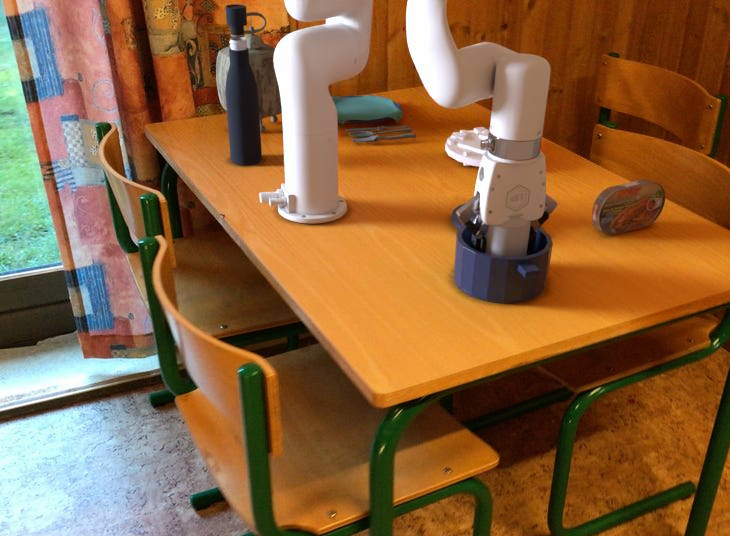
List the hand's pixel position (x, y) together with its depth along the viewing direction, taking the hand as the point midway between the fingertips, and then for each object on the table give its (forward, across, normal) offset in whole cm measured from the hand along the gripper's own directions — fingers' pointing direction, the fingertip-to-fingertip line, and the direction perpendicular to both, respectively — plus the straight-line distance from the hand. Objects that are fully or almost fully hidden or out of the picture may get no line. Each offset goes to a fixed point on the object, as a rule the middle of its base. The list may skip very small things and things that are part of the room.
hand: (502, 254), depth 132 cm
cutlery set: (+5, +2, +79) cm, 79 cm away
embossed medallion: (+5, +22, +52) cm, 57 cm away
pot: (+5, 0, 0) cm, 5 cm away
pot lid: (+4, +8, +20) cm, 22 cm away
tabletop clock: (+5, -23, +80) cm, 83 cm away
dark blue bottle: (+5, -29, +62) cm, 69 cm away
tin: (+5, +30, +12) cm, 33 cm away
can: (+4, 0, 0) cm, 4 cm away
